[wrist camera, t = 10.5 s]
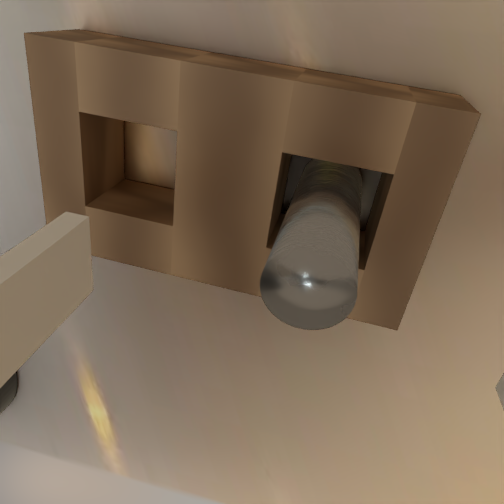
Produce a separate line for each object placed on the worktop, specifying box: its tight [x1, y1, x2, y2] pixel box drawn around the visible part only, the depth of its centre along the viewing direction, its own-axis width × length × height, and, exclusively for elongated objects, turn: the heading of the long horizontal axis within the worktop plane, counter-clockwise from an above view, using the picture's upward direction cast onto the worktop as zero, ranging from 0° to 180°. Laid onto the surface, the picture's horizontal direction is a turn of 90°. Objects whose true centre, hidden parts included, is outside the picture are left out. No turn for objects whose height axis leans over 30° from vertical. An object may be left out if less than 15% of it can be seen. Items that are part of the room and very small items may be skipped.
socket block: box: [24, 29, 481, 330], centre depth 21 cm, size 18×10×4 cm, turn 82°
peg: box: [260, 159, 362, 330], centre depth 18 cm, size 3×3×10 cm
